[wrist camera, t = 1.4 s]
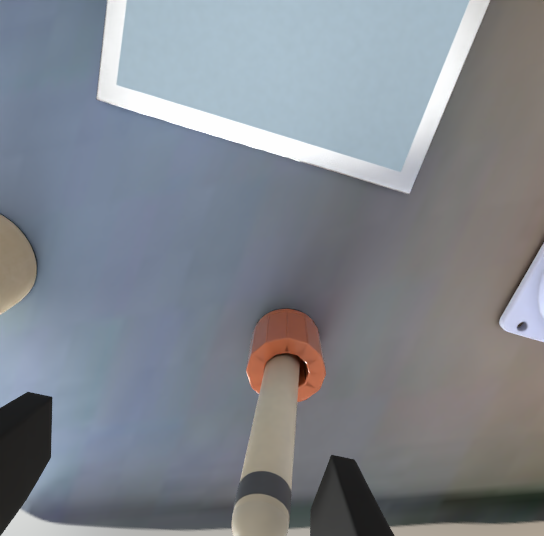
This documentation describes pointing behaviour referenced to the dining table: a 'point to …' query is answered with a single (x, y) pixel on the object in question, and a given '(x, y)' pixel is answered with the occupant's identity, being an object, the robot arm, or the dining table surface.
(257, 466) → the stylus
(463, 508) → the dining table surface
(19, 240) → the candle
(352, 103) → the tablet
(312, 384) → the pen holder
